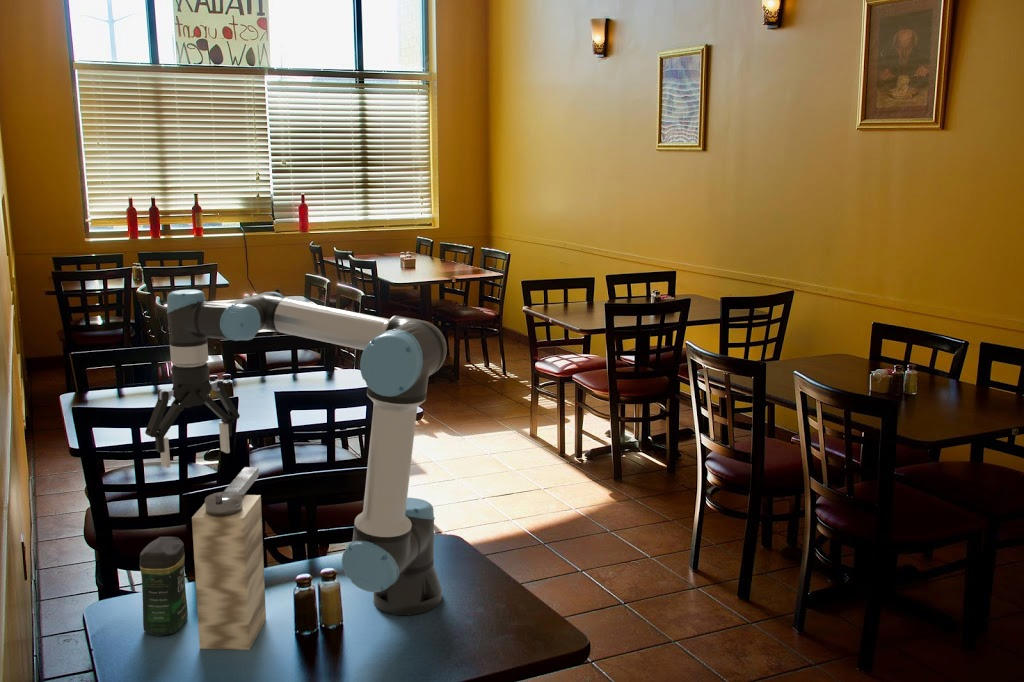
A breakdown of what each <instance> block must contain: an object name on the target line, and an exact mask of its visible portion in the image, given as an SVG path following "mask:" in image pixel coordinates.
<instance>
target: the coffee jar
mask: <svg viewBox="0 0 1024 682" xmlns="http://www.w3.org/2000/svg"><path fill="white" fill-rule="evenodd" d="M185 556H186V555H185V544H184V542H183V541H182V540H181V539H180V538H179V537H177V536H159V537H157V538H156V539H154V540H153V541H151V542H149V543H148V544H147V545H146V546H145V547H144V548H143V549H142V551H141V552H140V553H139V570H140V575H141V590H142V596H141V597H142V623H143V624H142V625H143V626H142V627H143V631H144V632H145V633H146V634H149V635H153V636H159V637H160V636H166V635H170V634H174V633H176V632H178V631H179V630H180V629H181V628H183V625H184V624H185V623H186V621H187V620H188V619H187V618H188V617H189V616H188V615H189V611H188V599H187V589H186V579H185V578H186V577H185Z"/></svg>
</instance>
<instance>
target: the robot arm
mask: <svg viewBox="0 0 1024 682" xmlns="http://www.w3.org/2000/svg"><path fill="white" fill-rule="evenodd" d="M166 299H167V300H166V301H167V302H166V304H167V305H166V309H167V310H166V314H167V315H166V316H167V322H168V332H169V333H168V334H169V352H170V353H169V354H170V363H172V365H171V368H170V369H171V378H172V379H171V380H172V388H171V389H170V390H169V389H167V390H164V389H162V388H161V389H158V391H157V401H156V404H155V406H154V409H153V411H152V413H151V416H150V419H149V422H148V424H147V426H146V429H145V433H144V434H145V435H147V436H148V437H150V438H154V441H155V450H156V452H158V453H160V465H161V466H162V467H165V468H166V469H169V468H171V457H170V454H171V453H170V444H169V443H170V441H169V436H166V434H167V433H168V432H169V430H170V429H171V427H172V426H173V424H174V422H175V421H176V420H177V419H178V417H179V415H180V413H181V412H183V411H184V410H185V408H192V407H194V406H196V407H197V406H202V405H203V404H204V405H205V406H207V407H208V408H209V409H210V410H211V411H212V412H213V413H214V414H215V415H216V416H217V417H218V418H219V419H221V421H219V422H218V427H219V428H218V429H219V444H220V451H221V452H223V453H225V454H229V453H231V448H230V437H232V436H233V424H234V423H235V420H238V419H240V418H241V417H240V416H241V415H240V413H239V411H238V410H237V408H236V406H235V404H234V403H233V401H232V400H231V398H230V396H229V394H228V393H227V391H226V387H225V383H224V381H222V380H220V379H218V378H217V379H215V378H214V379H213V381H211V382H210V366H209V363H208V361H209V350H208V349H209V347H208V338H210V339H218V340H229V341H234V342H238V341H250V340H253V339H254V338H256V335H257V334H258V333H259V331H262V330H267V331H271V332H275V333H276V332H277V333H282V334H287V335H292V336H297V337H300V338H305V339H310V340H315V341H318V342H319V341H320V342H322V343H323V342H324V343H330V344H333V345H338V346H342V347H348V348H352V349H356V350H362V354H361V356H360V362H359V368H360V373H361V377H362V380H364V382H365V385H366V396H367V397H368V398H369V399H370V400H371V401H372V403H373V409H372V417H371V429H370V435H369V436H370V437H369V448H368V456H367V457H368V458H367V466H366V467H367V468H366V477H365V478H366V479H365V486H364V487H365V489H364V499H363V509H362V512H361V513H359V514H357V516H356V517H355V518H354V524H353V531H352V532H353V534H352V541H351V542H350V543H349V544H348V545H347V546H346V548H345V550H344V551H343V553H342V557H341V563H342V569H343V572H344V574H345V576H346V577H347V578H348V579H349V580H350V581H351V583H352V584H353V585H354V586H355V587H357V588H359V589H360V590H363V591H365V592H369V593H373V604H374V606H375V607H376V608H377V609H379V610H380V611H382V612H384V613H386V614H391V615H396V616H415V615H419V614H424V613H427V612H430V611H432V610H433V609H436V607H438V606H439V604H440V603H441V602H442V598H443V597H442V594H443V593H442V592H443V591H442V590H443V589H442V586H441V582H440V579H439V576H438V573H437V571H436V568H435V564H434V563H435V559H434V558H435V555H434V554H435V519H436V518H435V516H434V507H433V505H432V503H430V502H429V501H427V500H425V499H422V498H416V497H408V495H409V485H410V478H411V477H410V476H411V475H410V474H411V466H412V457H413V449H414V441H415V439H414V438H415V430H416V421H417V413H418V407H419V406H421V405H422V404H423V403H425V402H426V400H427V392H428V384H429V383H428V382H429V377H431V376H432V375H434V374H435V373H436V372H438V371H439V370H440V368H441V367H442V366H443V364H444V362H445V360H446V356H447V350H448V348H447V347H448V346H447V342H446V338H445V336H444V334H443V333H442V332H441V330H440V329H439V328H438V327H437V326H435V325H434V324H433V323H431V322H429V321H426V320H421V319H417V318H411V317H406V316H401V315H393V316H392V317H391V318H386V317H380V316H375V315H370V314H366V313H360V312H356V311H349V310H345V309H340V308H334V307H329V306H324V305H318V304H314V303H309V302H305V301H299V300H295V299H289V298H286V297H285V296H284V295H282V294H281V293H279V292H276V291H265V292H260V293H258V294H255V295H252V296H251V295H250V296H248V297H245V298H240V299H236V300H232V301H228V302H221V301H220V302H218V301H217V302H215V301H208V300H207V299H206V297H205V292H204V291H203V290H199V289H179V290H172V291H171V292H169V293H168V294H167V297H166ZM206 300H207V301H206ZM211 391H215V393H216V395H217V397H218V398H219V400H220V401H221V403H222V405H223V408H224V409H225V410H226V411H225V410H223V408H222V407H220V406H219V405H218V404H217V403H216V402H215V400H214V399H212V398H211V397H210V395H209V394H210V393H211ZM172 397H173V398H174V399H173V401H172V403H171V405H170V407H169V409H168V411H167V408H168V404H169V401H170V400H171V398H172ZM166 411H167V412H166ZM165 412H166V414H165ZM226 412H227V413H226Z"/></svg>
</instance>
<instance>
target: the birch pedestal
mask: <svg viewBox="0 0 1024 682" xmlns="http://www.w3.org/2000/svg"><path fill="white" fill-rule="evenodd" d="M261 496H262V495H261V494H258V495H257V494H244V495H243V497H242V506H243V509H242V511H240V512H239V513H237V514H234V515H231V516H225V517H214V516H210V515H207V514H206V510H205V502H204V503H203V504H202V506H201V507H199V509H198V510H196V512H195V513H194V514H193V516H192V517H191V524H192V525H191V527H192V541H193V543H192V544H193V560H194V572H195V573H194V576H195V593H196V594H195V595H196V609H197V611H196V612H197V624H198V645H199V649H200V650H205V649H206V650H240V651H241V650H243V651H245V650H246V651H247V650H249V651H251V650H250V649H251V648H252V646H253V645H254V642H255V640H257V639H256V638H257V637H258V635H259V633H260V631H261V629H262V628H263V626H264V624H265V623H266V620H267V613H266V612H267V611H266V590H265V589H266V587H265V585H266V584H265V566H264V565H265V563H264V561H265V560H264V545H263V544H264V542H263V541H264V539H263V521H262V520H263V518H262V517H263V516H262V497H261Z"/></svg>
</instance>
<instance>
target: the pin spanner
mask: <svg viewBox="0 0 1024 682" xmlns="http://www.w3.org/2000/svg"><path fill="white" fill-rule="evenodd" d="M259 473H260V471H259V467H257V466H256V467H254V466H253V467H252V466H251V467H250V466H244V467H243V468H242V469H241V471H240V472H239V473H238V474H237V475H236V476H235V478H234V479H232V481H231V482H230V483H229V485H228V486H227V487H226V488H225V489H224V490H223V491H219V492H214V493H212V494H209V495H207V496H206V497H205V498H204V503H205V510H206V514H207V515H210V516H214V517H225V516H231V515H234V514H237V513H239V512H240V511H242V509H243V506H242V497H243V495H246V493H247V491H248V490H249V489H250V488H251V487H252V485H253V484H254V483H255V482H256V480H257V479H258V478H259V476H260V474H259Z"/></svg>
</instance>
